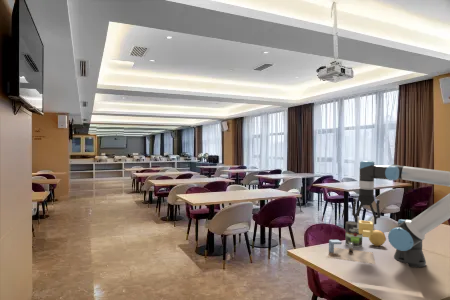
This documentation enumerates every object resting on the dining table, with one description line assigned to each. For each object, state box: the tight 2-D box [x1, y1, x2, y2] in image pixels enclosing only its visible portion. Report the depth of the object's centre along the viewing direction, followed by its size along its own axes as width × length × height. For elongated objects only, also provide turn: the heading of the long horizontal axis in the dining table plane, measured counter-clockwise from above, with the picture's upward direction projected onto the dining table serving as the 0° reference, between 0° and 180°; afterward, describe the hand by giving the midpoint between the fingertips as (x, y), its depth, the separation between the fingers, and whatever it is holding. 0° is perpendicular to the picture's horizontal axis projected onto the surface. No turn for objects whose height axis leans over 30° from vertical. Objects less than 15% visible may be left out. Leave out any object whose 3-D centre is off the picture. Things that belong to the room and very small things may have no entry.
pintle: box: [348, 243, 354, 252], centre depth 182 cm, size 2×2×5 cm
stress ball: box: [368, 229, 387, 247], centre depth 200 cm, size 10×10×10 cm
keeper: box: [328, 239, 342, 253], centre depth 182 cm, size 6×5×6 cm
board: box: [327, 247, 376, 265], centre depth 177 cm, size 24×20×2 cm
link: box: [358, 219, 373, 239], centre depth 171 cm, size 13×7×6 cm, turn 159°
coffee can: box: [344, 220, 363, 248], centre depth 201 cm, size 10×10×14 cm
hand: (365, 229), depth 174 cm, fingers closed on link, 7 cm apart
